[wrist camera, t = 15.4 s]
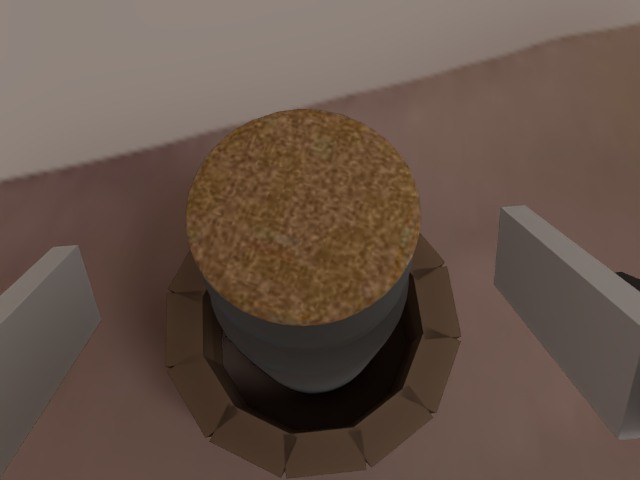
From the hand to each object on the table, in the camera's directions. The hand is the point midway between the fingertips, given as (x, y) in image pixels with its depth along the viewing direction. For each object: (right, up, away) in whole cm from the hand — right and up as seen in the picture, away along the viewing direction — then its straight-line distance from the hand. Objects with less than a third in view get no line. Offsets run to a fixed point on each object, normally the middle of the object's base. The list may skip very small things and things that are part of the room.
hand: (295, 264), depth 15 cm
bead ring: (0, -4, +8) cm, 9 cm away
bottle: (0, -4, +9) cm, 9 cm away
